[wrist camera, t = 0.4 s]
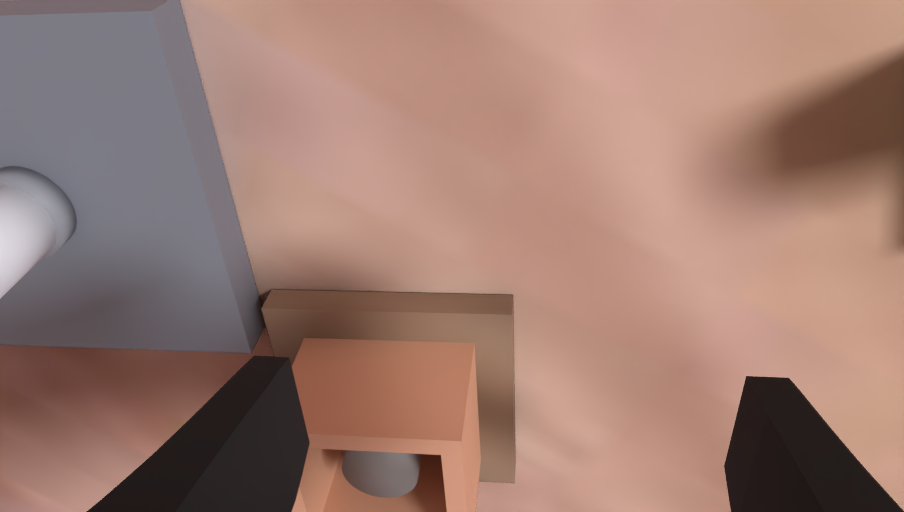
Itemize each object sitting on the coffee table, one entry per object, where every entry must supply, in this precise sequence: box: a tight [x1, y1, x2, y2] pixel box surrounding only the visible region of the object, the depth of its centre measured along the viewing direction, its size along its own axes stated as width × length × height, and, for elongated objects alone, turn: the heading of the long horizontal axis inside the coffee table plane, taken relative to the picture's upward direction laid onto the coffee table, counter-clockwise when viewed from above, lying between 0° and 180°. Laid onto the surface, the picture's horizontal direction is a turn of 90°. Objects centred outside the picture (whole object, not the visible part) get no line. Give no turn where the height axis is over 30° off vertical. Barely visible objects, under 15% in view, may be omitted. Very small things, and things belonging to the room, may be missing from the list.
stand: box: [261, 289, 516, 498], centre depth 24 cm, size 8×8×4 cm
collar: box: [292, 338, 481, 512], centre depth 23 cm, size 6×6×4 cm
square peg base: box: [0, 0, 266, 353], centre depth 20 cm, size 11×11×5 cm
